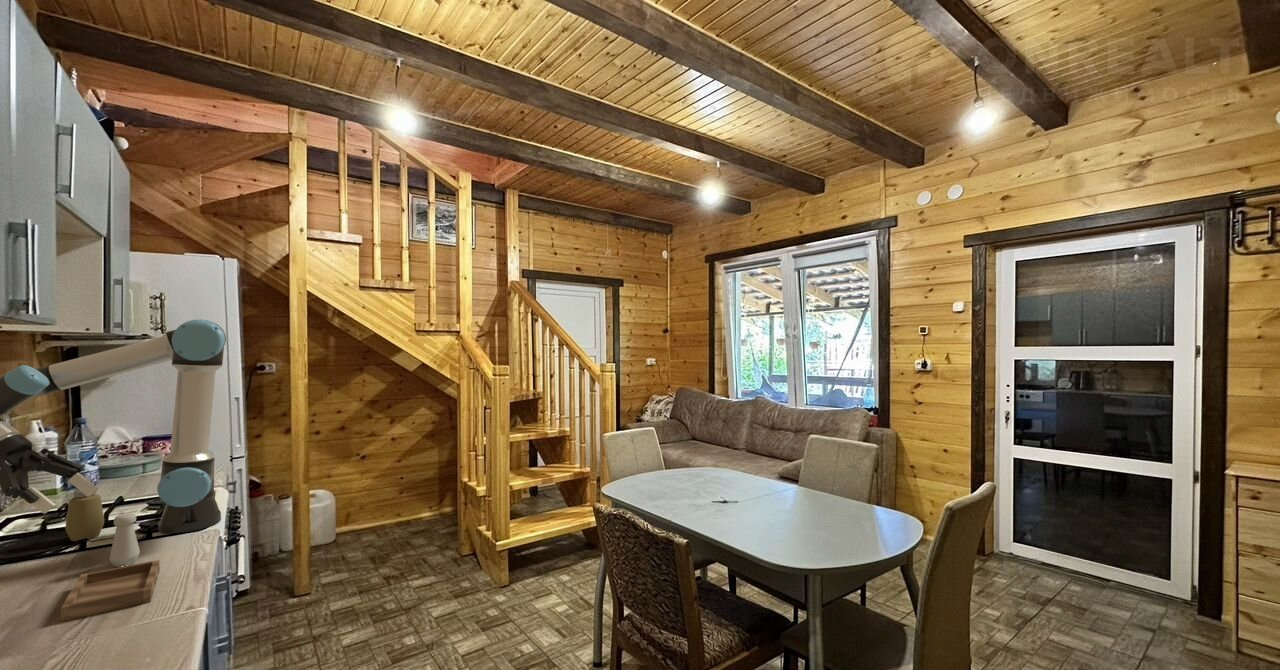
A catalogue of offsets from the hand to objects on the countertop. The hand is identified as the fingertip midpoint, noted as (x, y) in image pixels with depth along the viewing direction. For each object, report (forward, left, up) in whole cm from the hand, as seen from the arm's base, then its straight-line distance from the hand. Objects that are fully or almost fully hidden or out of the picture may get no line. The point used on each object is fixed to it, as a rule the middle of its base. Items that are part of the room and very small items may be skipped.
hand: (72, 500), depth 138 cm
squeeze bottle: (-17, -19, -18) cm, 31 cm away
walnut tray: (+10, +26, -17) cm, 32 cm away
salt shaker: (-4, +11, -18) cm, 21 cm away
